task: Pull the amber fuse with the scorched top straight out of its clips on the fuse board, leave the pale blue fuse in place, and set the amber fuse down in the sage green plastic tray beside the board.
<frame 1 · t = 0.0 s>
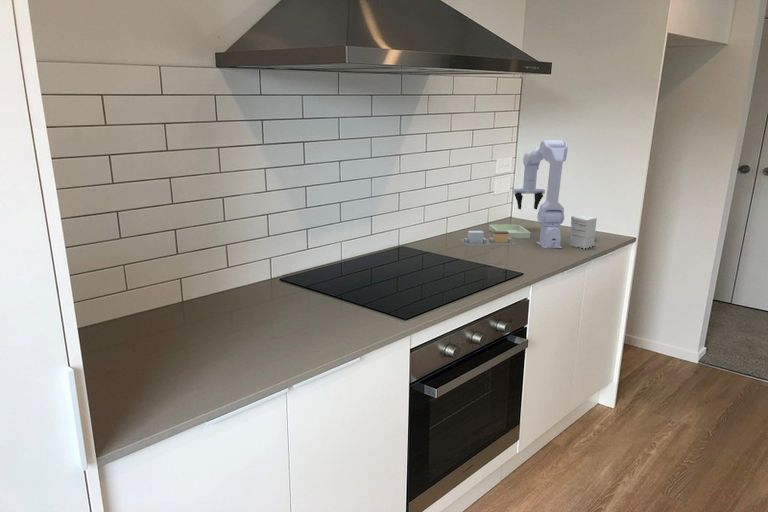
hand: (527, 209, 285), 10 cm above the worktop, tool pointing down, fingers open, 7 cm apart
parts tray: (508, 234, 278), on the worktop
blown fuse: (500, 241, 264), resting on fuse board
flower pot: (580, 238, 275), on the worktop
supplement box: (581, 246, 261), on the worktop
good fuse: (475, 242, 262), resting on fuse board
fuse board: (487, 243, 263), on the worktop
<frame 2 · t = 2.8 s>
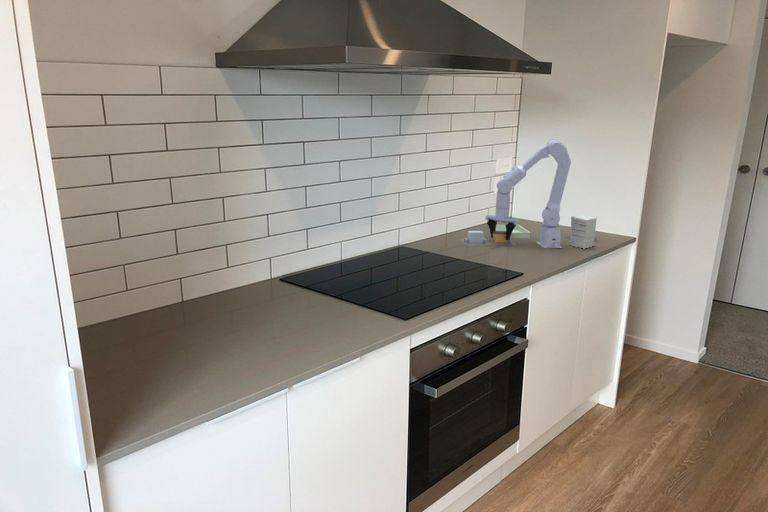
hand: (500, 238, 263), 2 cm above the worktop, tool pointing down, fingers closed on blown fuse, 6 cm apart
blown fuse: (500, 241, 264), resting on fuse board, touching gripper
everything else where it was.
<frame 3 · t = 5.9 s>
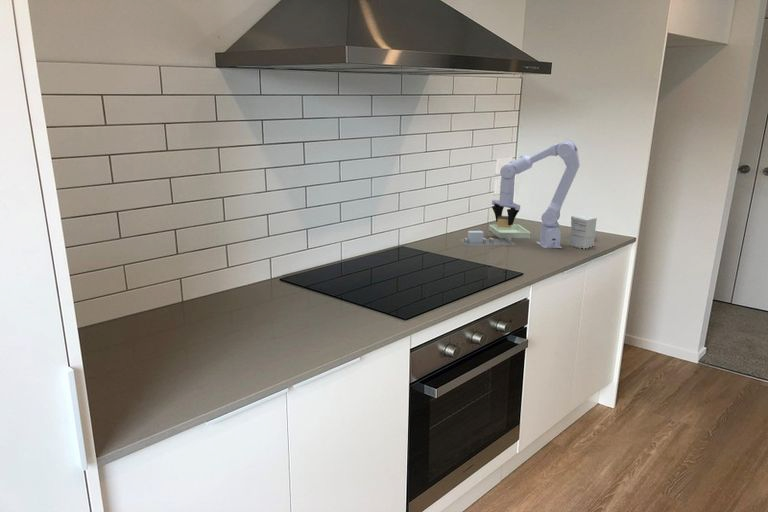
hand: (504, 223, 267), 7 cm above the worktop, tool pointing down, fingers closed on blown fuse, 6 cm apart
blown fuse: (504, 226, 267), point 6 cm above the worktop, touching gripper
everything else where it was.
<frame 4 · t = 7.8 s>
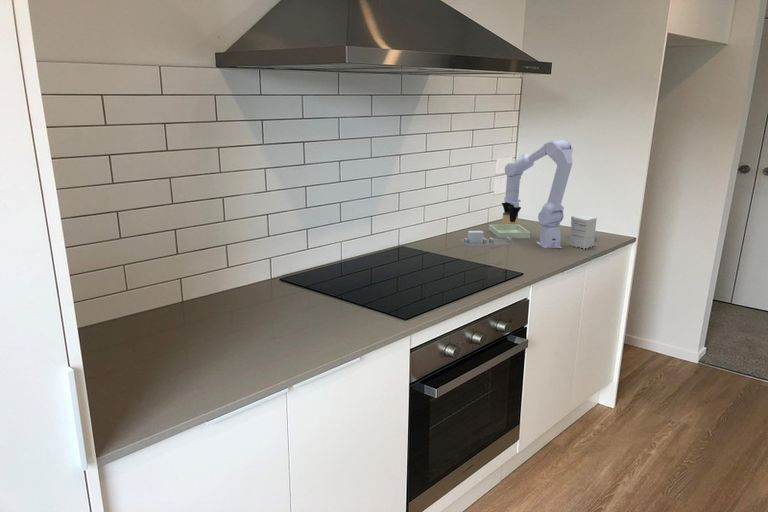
hand: (510, 220, 276), 7 cm above the worktop, tool pointing down, fingers closed on blown fuse, 6 cm apart
blown fuse: (509, 223, 277), point 5 cm above the worktop, touching gripper
everything else where it was.
when the fingers open (3 cm above the worktop, at t = 9.2 s): blown fuse stays where it is, resting on parts tray.
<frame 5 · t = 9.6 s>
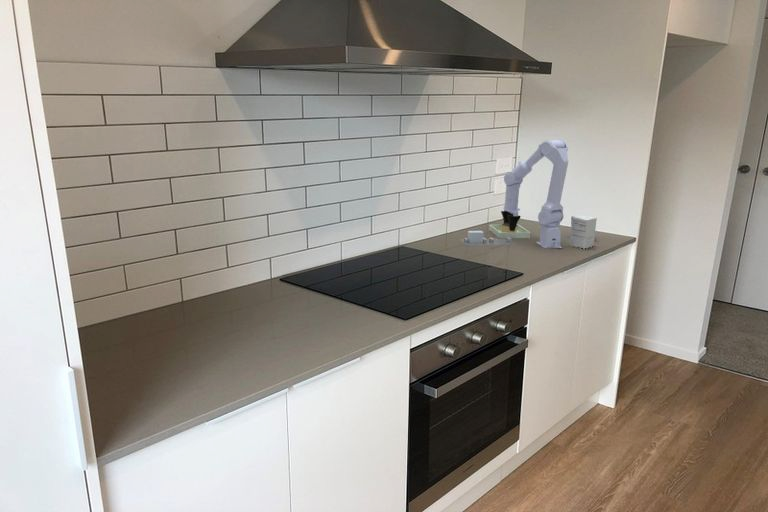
hand: (509, 228, 277), 3 cm above the worktop, tool pointing down, fingers open, 7 cm apart
blown fuse: (509, 233, 278), resting on parts tray
everything else where it was.
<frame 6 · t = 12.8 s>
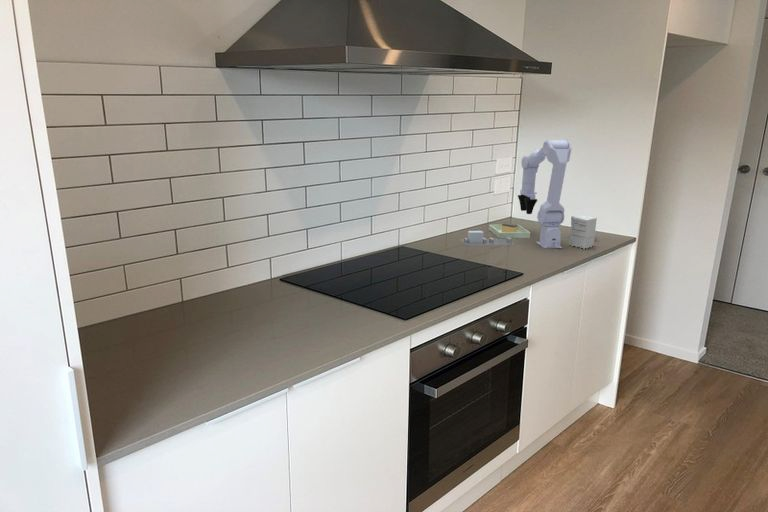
hand: (526, 212, 282), 9 cm above the worktop, tool pointing down, fingers open, 7 cm apart
nothing on the worktop moved.
at the end: blown fuse inside the target area on the parts tray (0.1 cm from its centre), point 0.5 cm above the parts tray's base; the gripper is holding nothing; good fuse moved 0.0 cm from its start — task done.
